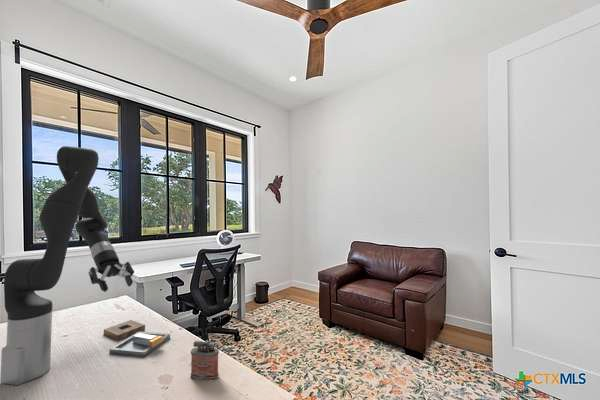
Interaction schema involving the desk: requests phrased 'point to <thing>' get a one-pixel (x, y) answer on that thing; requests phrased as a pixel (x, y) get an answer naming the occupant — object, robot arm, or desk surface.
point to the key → (147, 339)
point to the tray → (136, 346)
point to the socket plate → (124, 330)
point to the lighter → (204, 361)
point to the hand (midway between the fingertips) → (118, 287)
